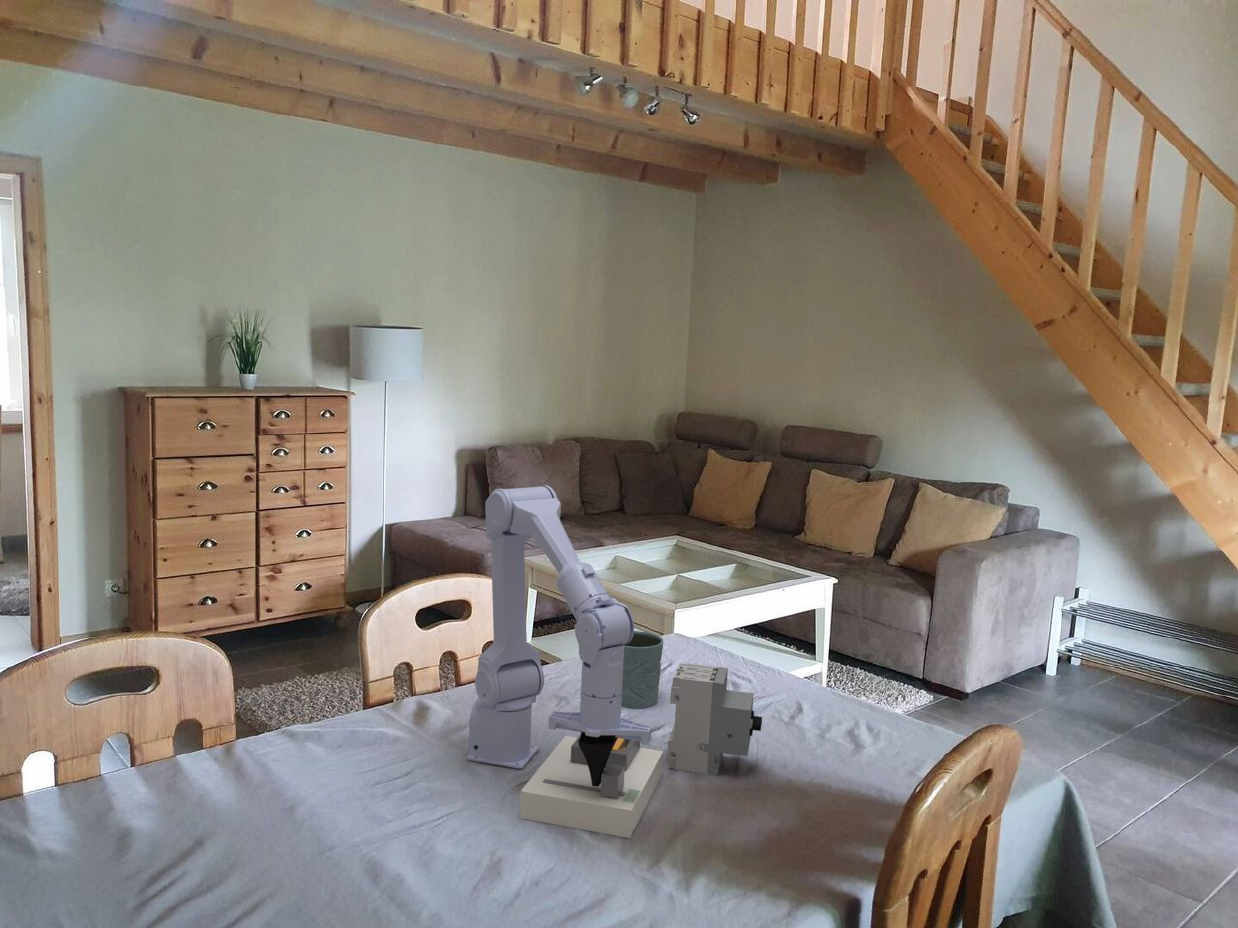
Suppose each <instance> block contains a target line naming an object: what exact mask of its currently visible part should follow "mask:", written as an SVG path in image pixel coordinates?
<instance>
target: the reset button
mask: <svg viewBox="0 0 1238 928" xmlns="http://www.w3.org/2000/svg"><path fill="white" fill-rule="evenodd" d="M624 748H625V739H622V738H618V739H617V741H616V743H615V745H614V747H613V749H612V751H619V752H623V751H624Z"/></svg>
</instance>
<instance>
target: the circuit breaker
mask: <svg viewBox="0 0 1238 928" xmlns="http://www.w3.org/2000/svg"><path fill="white" fill-rule="evenodd" d="M728 669H729V668H728V667H721V666H715V665H714V666H713V665H705V664H696V663H688V662H686V663H682V662H679V663H678V666H677V668H676V670H675V673H674V675H673V678H672V684H671V688H670V700H669V703H670V704H672V705H675V714H674V724H673V727H672V729H671V733H670V734H669V737H668V740H667V754H666V769H667V770H668V769H669V770H670V769H674V770H676V771H682V772H689V773H690V772H691V773H698V774H705V775H714V776H718V775H719V771H720V768H721V763H722V759H723V758H722V757H723V754H727V755H735V756H744V757H748V755H749V749H750V744H751V738H752V736H753V731H757V732H758V731H759V732H760V731H762V725H763V723H762V722H763V716H758V715H755V711H754V709H753V708H754V693H753V692H748V691H747V692H746V691H738V690H729V689H727V687H728V675H729V674H728V672H729V670H728Z"/></svg>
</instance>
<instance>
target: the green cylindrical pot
mask: <svg viewBox="0 0 1238 928" xmlns="http://www.w3.org/2000/svg"><path fill="white" fill-rule="evenodd" d="M663 647H664V639H663V637H661V636H660V635H658V634H655V633H652V632H649V631H641V630H639V631H638V630H634V634H633V637H632V639H631V641H630V642H629V643H627V644H624V662H623V681H622V701H621V708H627V709H634V710H635V709H636V710H638V709H641V710H642V709H647V708H652V707H653V706H655V705H656V704H657V702H658V700H659V699H658V698H659V687H660V679H661V668H662V667H661V666H662V663H661V662H662V655H663Z"/></svg>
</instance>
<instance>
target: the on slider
mask: <svg viewBox="0 0 1238 928" xmlns="http://www.w3.org/2000/svg"><path fill="white" fill-rule="evenodd" d="M624 772H625V766H619V765H613V764H608V765H607V767H606V768H605V770H604V771H603V773H602V775H601V795H603V796H609V797H615V798H617V797H618V796H619V794H620V792H621V791H622V789H623V787H624Z"/></svg>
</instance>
